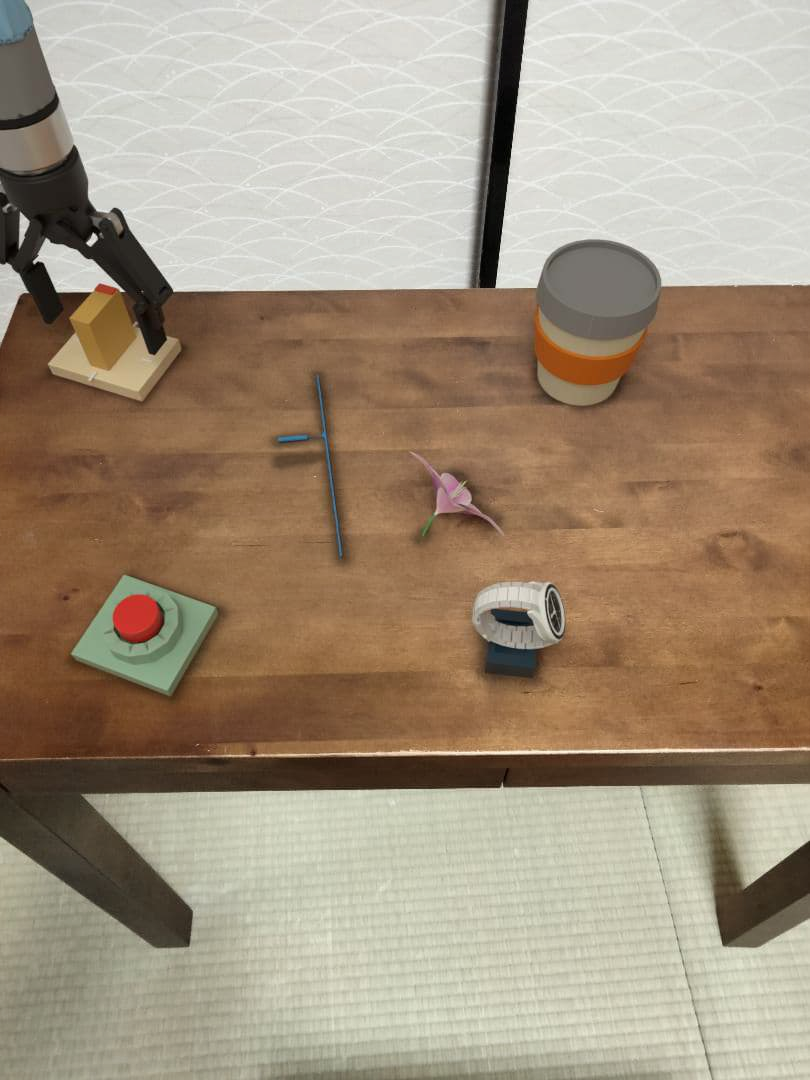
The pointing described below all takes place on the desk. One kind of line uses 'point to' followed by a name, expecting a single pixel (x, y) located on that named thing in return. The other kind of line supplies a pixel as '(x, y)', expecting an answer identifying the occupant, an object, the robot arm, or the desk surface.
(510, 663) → the watch
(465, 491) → the lily
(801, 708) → the desk surface
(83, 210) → the robot arm
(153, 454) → the desk surface
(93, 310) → the thumbturn
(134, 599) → the bell button
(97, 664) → the green button mount
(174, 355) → the plate
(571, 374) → the reusable coffee cup
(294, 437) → the blue squeegee
